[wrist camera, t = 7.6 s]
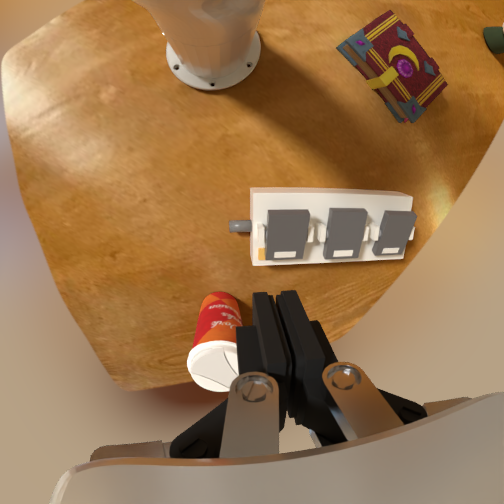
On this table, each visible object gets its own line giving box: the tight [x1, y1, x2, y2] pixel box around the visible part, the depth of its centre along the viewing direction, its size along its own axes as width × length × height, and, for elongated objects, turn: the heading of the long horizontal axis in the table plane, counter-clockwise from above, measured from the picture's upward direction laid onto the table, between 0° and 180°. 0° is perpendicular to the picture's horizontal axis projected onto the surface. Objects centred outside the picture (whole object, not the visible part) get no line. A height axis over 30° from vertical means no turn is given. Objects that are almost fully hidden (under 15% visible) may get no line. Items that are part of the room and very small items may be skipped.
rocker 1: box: [264, 209, 310, 260], centre depth 37 cm, size 7×5×2 cm
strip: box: [229, 187, 415, 266], centre depth 40 cm, size 10×27×6 cm, turn 90°
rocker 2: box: [372, 210, 417, 256], centre depth 38 cm, size 7×5×2 cm
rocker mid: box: [323, 208, 368, 260], centre depth 38 cm, size 7×5×2 cm
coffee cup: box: [187, 292, 243, 392], centre depth 40 cm, size 8×8×15 cm
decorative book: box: [336, 10, 448, 123], centre depth 33 cm, size 11×16×5 cm
